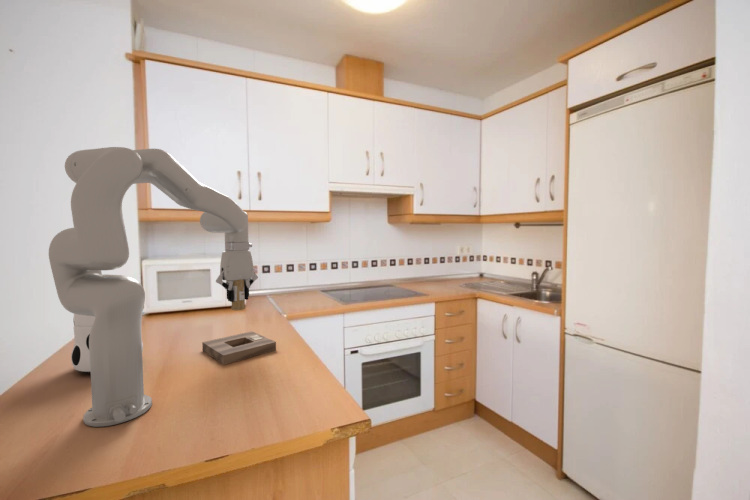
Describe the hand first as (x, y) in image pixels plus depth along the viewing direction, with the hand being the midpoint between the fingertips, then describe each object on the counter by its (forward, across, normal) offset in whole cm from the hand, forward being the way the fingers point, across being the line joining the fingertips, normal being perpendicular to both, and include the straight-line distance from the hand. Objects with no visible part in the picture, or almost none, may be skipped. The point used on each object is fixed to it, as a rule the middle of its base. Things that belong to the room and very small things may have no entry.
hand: (238, 299), depth 118 cm
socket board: (+18, 0, 0) cm, 18 cm away
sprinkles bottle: (+4, 0, 0) cm, 4 cm away
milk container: (+18, +34, -15) cm, 41 cm away
